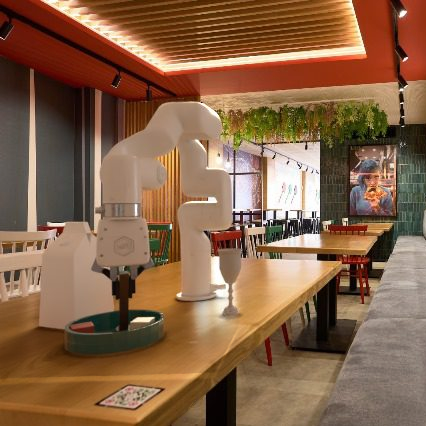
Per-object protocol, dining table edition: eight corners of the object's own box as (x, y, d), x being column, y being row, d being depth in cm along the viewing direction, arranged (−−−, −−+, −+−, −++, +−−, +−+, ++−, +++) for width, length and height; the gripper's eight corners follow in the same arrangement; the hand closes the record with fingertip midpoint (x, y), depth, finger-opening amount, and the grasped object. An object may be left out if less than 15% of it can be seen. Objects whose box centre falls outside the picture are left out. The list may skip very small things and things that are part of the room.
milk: (114, 320, 105) (113, 221, 104) (75, 333, 94) (73, 223, 93) (80, 316, 109) (79, 221, 108) (38, 328, 98) (37, 222, 97)
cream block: (129, 340, 86) (129, 322, 86) (137, 334, 90) (137, 317, 90) (148, 340, 87) (148, 321, 87) (155, 334, 91) (155, 316, 90)
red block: (94, 344, 84) (94, 325, 84) (72, 348, 82) (72, 329, 81) (91, 339, 87) (91, 321, 87) (70, 343, 85) (70, 324, 85)
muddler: (131, 328, 90) (131, 269, 86) (132, 335, 87) (132, 275, 84) (115, 330, 88) (115, 270, 85) (115, 337, 85) (115, 276, 82)
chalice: (220, 312, 112) (219, 248, 112) (244, 311, 112) (244, 248, 112) (215, 319, 105) (215, 251, 104) (241, 318, 105) (241, 251, 105)
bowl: (158, 323, 102) (158, 305, 101) (171, 346, 84) (171, 325, 84) (67, 335, 92) (67, 316, 92) (61, 364, 75) (61, 340, 75)
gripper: (79, 213, 78) (80, 306, 78) (164, 212, 86) (165, 297, 86) (80, 212, 85) (81, 298, 85) (159, 212, 92) (160, 290, 93)
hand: (123, 297), depth 86 cm, fingers closed on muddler
